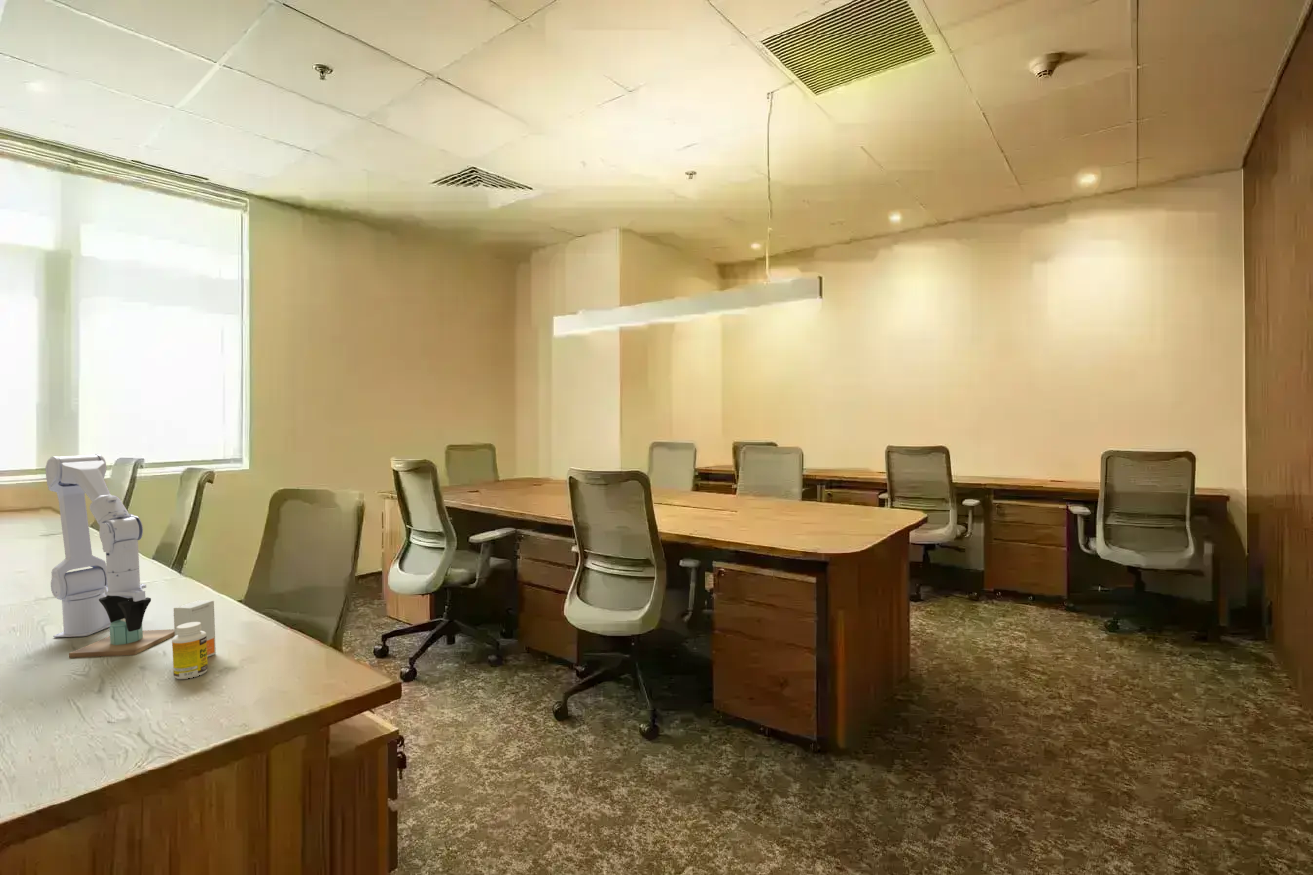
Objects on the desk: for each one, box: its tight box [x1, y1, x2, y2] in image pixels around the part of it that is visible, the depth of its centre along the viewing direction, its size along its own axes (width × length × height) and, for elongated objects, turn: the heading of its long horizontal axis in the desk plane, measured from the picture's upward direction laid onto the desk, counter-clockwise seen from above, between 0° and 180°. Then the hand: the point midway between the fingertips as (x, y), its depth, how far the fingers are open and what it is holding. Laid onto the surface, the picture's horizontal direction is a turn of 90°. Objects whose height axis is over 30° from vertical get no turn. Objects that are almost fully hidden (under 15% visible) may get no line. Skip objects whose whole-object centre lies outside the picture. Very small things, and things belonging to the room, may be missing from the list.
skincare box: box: [173, 599, 217, 658], centre depth 134 cm, size 6×4×12 cm
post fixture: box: [68, 628, 175, 659], centre depth 144 cm, size 14×14×4 cm
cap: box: [109, 618, 144, 645], centre depth 144 cm, size 5×5×5 cm
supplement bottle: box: [171, 622, 209, 680], centre depth 126 cm, size 6×6×10 cm
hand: (126, 627), depth 144 cm, fingers open, 7 cm apart
